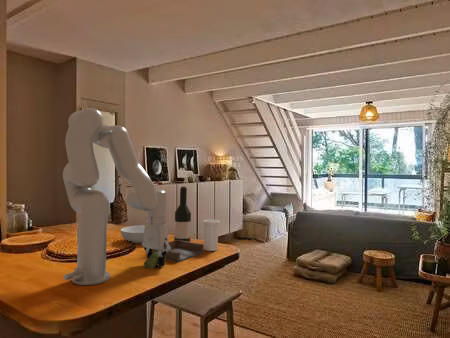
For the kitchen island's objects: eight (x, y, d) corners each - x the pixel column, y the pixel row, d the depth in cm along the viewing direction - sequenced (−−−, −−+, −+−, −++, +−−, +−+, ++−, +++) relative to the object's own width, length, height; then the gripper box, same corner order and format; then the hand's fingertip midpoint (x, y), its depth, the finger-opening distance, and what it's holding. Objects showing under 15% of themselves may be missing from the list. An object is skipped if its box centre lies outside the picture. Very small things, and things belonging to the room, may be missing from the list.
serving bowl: (149, 235, 191) (150, 223, 191) (168, 242, 175) (168, 229, 175) (114, 240, 178) (114, 227, 178) (130, 248, 162) (130, 234, 161)
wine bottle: (191, 243, 174) (193, 186, 174) (188, 247, 166) (189, 187, 166) (176, 242, 175) (177, 185, 175) (171, 246, 167) (173, 186, 166)
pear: (167, 250, 138) (150, 260, 129) (168, 263, 138) (151, 273, 130) (157, 248, 140) (140, 257, 132) (158, 260, 141) (141, 270, 133)
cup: (210, 247, 168) (211, 218, 168) (222, 250, 163) (223, 221, 162) (198, 249, 163) (199, 220, 162) (210, 253, 157) (211, 222, 157)
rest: (177, 262, 141) (177, 253, 141) (149, 256, 149) (150, 247, 149) (203, 253, 157) (203, 244, 157) (177, 247, 165) (177, 239, 165)
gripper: (134, 219, 137) (133, 263, 137) (166, 224, 128) (165, 271, 128) (147, 217, 143) (147, 258, 144) (179, 221, 134) (178, 266, 134)
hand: (155, 264), depth 136 cm, fingers closed on pear, 5 cm apart
